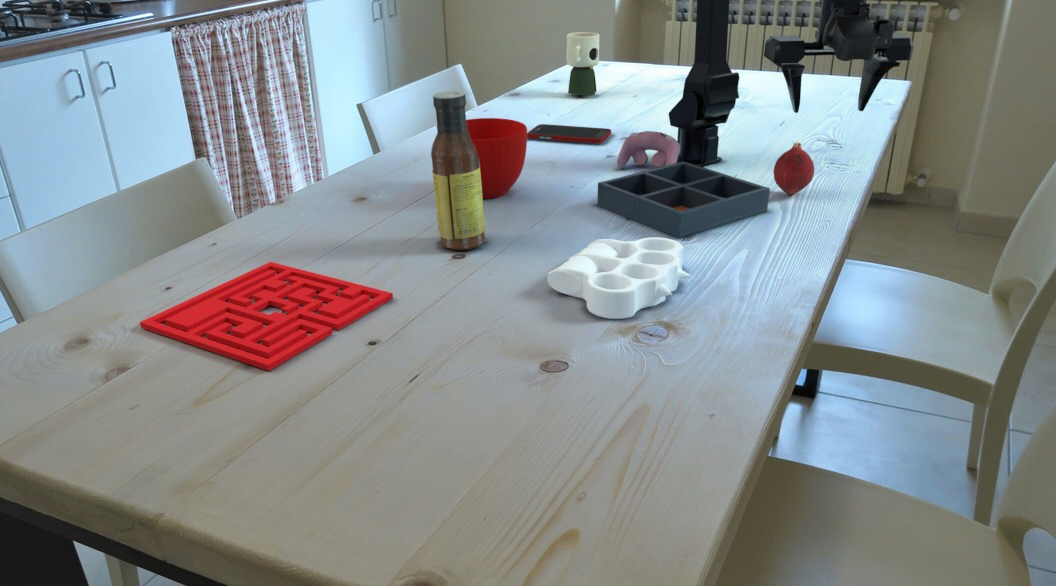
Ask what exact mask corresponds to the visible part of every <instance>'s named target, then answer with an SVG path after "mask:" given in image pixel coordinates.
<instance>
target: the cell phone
mask: <svg viewBox="0 0 1056 586" xmlns="http://www.w3.org/2000/svg"><path fill="white" fill-rule="evenodd" d="M611 135H612V129H611V128H607V127H606V128H605V127H588V126H577V125H576V126H575V125H560V124H547V123H546V124H545V123H541V124H537V125H536V126H535V127H533V128H532V129H530V130H529V131H527V139H533V140H534V139H535V140H545V141H546V140H547V141H558V142H570V143H582V144H583V143H585V144H599V145H600V144H602V143H604V142H605V141H606V139H609V137H610V136H611Z"/></svg>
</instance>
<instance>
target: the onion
mask: <svg viewBox="0 0 1056 586" xmlns="http://www.w3.org/2000/svg"><path fill="white" fill-rule="evenodd" d="M802 145H803V144H802V143H800V142H799V141H796V142H794V143H793V145H792V147H791V148H790V149H788V150H786V151H785V152H783V153H782V154H781V155H780V156H778V158H777V160H776V161H775V163H774V166H773V180H774V182H775V184H776V185H777V186H778V188H780V189H781V190H782V191H783V192H784V193H785V194H786V195H788V196H794V195H796V194H798V193H799V192H801V191H802V190H804V189H805V188H806V187H808V186H809V184H810V183H811V181H812V180H813V178H814V175H815V164H814V161H813V159H812V157H811V155H809V153H808V152H807V151H806V150H804V149H803V148H802Z"/></svg>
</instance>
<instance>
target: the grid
mask: <svg viewBox="0 0 1056 586" xmlns="http://www.w3.org/2000/svg"><path fill="white" fill-rule="evenodd" d="M770 191H771V188H770V187H767V186H763V185H761V184H758V183H754V182H751V181H747V180H744V179H741V178H738V177H735V176H732V175H728V174H725V173H722V172H720V171H716V170H713V169H709V168H706V167H704V166H697V165H694V164H690V163H687V162H684V161H683V162H676V163H675V164H671V165H667V166H666V165H665V166H663V167H659V168H657V167H655V168H651V169H648V170H643V171H639V172H635V173H631V174H627V175H624V176H620V177H615V178H611V179H607V180H603V181H600V182H599V181H598V182H597V201H596V202H597V203H596V204H597V206H598V207H601V208H603V209H605V210H608V211H610V212H613V213H615V214H618V215H621V216H623V217H626V218H628V219H631V220H632V221H635V222H637V223H640V224H643V225H645V226H648V227H650V228H653V229H655V230H658V231H660V232H663V233H666V234H667V235H670V236H673V237H675V238H678V239H682V238H685V237H688V236H692V235H695V234H698V233H702V232H705V231H709V230H711V229H715V228H718V227H721V226H725V225H727V224H731V223H734V222H737V221H741V220H744V219H747V218H751V217H754V216H756V215H761V214H763V213H766V212H768V208H769V207H768V206H769V199H770Z"/></svg>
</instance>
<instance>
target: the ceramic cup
mask: <svg viewBox="0 0 1056 586" xmlns="http://www.w3.org/2000/svg"><path fill="white" fill-rule="evenodd" d="M466 123H467V129H468V132H469V135H470V138H471V140H472V143H473V144H474V146H475V148H476V151H477V154H478V158H479V163H480V174H481V185H482V197H483V199H495V198H500V197H503V196H505V195H507V194H508V193H509V191H510V190H511V189H512V187H513V186H514V185H515V183H516V182H517V181H518V179H519V177H520V176H521V174H522V171H523V169H524V165H525V161H526V155H527V145H528V137H527V133H528V127H527V125H526V124H525V123H523V122H521V121H519V120H515V119H509V118H500V117H499V118H497V117H481V118H479V117H478V118H469V119H466Z"/></svg>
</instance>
